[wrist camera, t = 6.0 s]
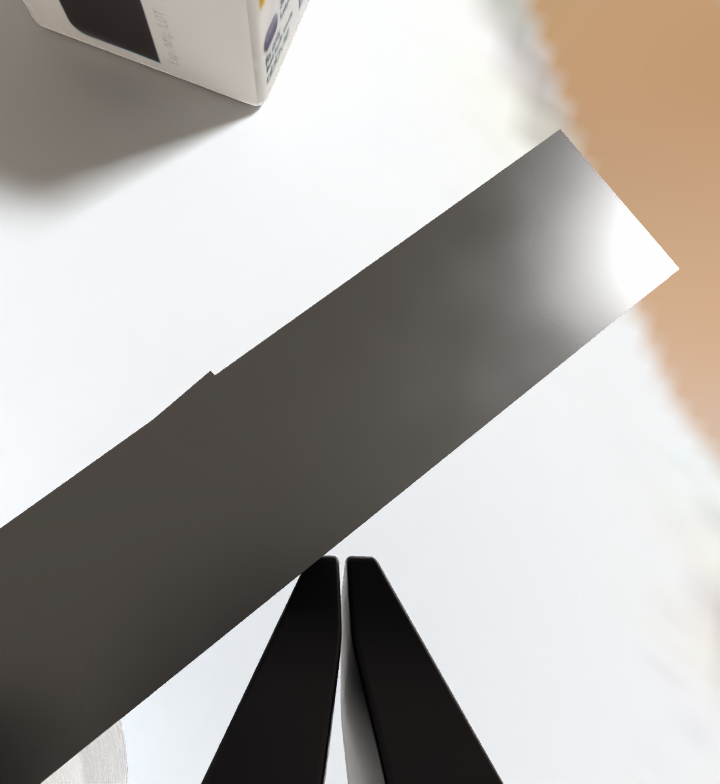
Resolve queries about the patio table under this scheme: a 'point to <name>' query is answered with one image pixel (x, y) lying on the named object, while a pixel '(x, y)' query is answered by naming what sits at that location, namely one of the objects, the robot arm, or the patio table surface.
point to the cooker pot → (107, 752)
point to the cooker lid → (300, 446)
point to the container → (187, 37)
